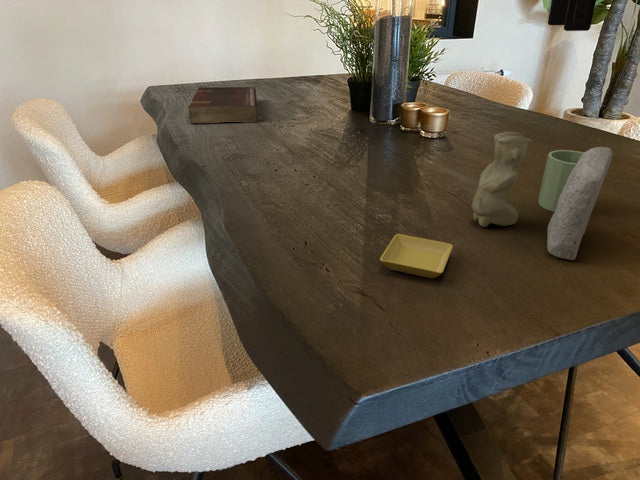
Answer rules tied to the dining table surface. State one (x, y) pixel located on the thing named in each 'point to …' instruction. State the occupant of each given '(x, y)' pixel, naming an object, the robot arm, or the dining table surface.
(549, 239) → the decorative stone
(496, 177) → the sculpture
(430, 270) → the yellow shallow tray
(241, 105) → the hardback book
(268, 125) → the dining table surface
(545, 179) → the sage cup
